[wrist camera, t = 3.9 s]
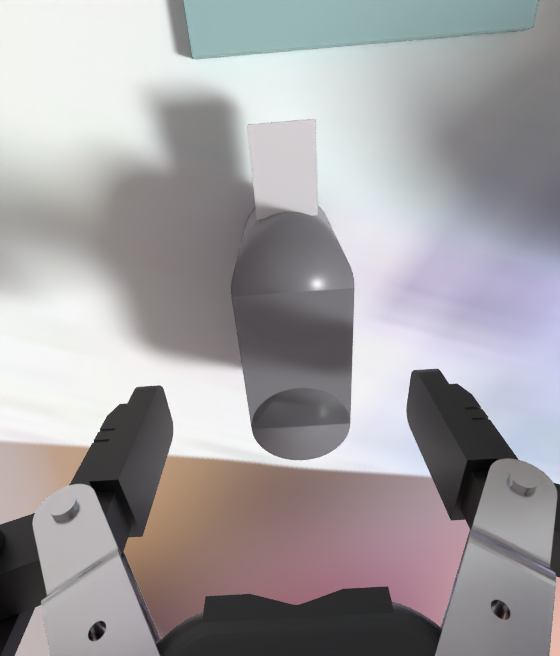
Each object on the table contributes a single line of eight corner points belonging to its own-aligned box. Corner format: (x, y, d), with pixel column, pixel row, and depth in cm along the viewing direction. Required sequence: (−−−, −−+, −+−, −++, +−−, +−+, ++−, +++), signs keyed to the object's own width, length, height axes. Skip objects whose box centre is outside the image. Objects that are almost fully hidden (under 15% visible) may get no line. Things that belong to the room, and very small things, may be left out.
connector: (330, 116, 15) (359, 118, 10) (331, 372, 21) (349, 457, 16) (230, 124, 15) (206, 131, 10) (261, 377, 21) (257, 462, 16)
